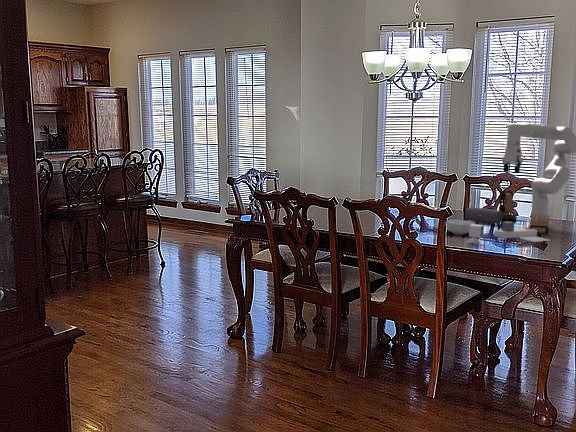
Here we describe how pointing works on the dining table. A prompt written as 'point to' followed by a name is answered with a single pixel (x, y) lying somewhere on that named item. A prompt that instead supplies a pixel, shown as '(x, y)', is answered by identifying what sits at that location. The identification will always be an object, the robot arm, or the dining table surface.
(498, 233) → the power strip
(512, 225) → the block
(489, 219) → the bluetooth speaker
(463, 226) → the cereal bowl
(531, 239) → the felt pad
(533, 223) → the ammunition clip
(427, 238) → the dining table surface
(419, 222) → the dining table surface
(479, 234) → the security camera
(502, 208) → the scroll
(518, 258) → the dining table surface
